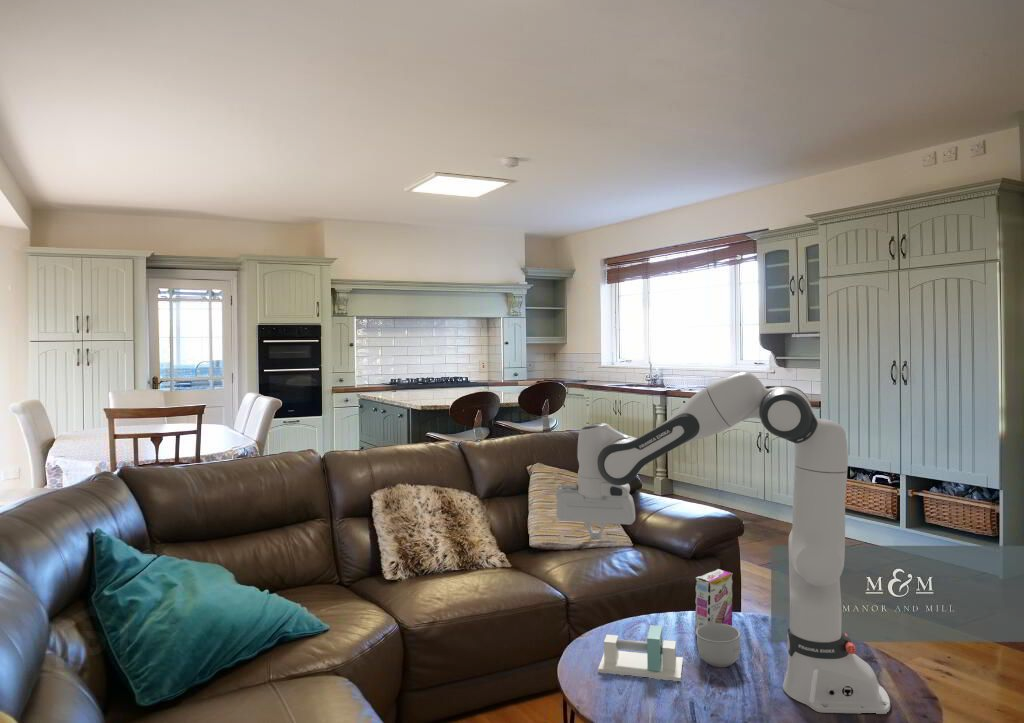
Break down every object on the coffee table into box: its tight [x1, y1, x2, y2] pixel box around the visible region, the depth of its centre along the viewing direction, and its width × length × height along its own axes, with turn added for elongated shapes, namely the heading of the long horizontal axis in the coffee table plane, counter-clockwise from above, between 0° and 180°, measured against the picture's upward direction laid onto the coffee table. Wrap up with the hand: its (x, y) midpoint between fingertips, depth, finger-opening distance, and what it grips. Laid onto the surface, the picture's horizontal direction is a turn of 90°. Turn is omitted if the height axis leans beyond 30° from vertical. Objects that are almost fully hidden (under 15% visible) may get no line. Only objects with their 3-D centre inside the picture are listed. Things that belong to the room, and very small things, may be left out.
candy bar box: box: [694, 568, 733, 636], centre depth 201 cm, size 11×5×16 cm, turn 130°
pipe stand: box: [597, 634, 684, 683], centre depth 183 cm, size 20×11×7 cm, turn 74°
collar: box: [646, 624, 663, 671], centre depth 182 cm, size 3×8×8 cm, turn 164°
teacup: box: [695, 621, 741, 668], centre depth 186 cm, size 14×11×8 cm
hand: (595, 538), depth 187 cm, fingers closed
